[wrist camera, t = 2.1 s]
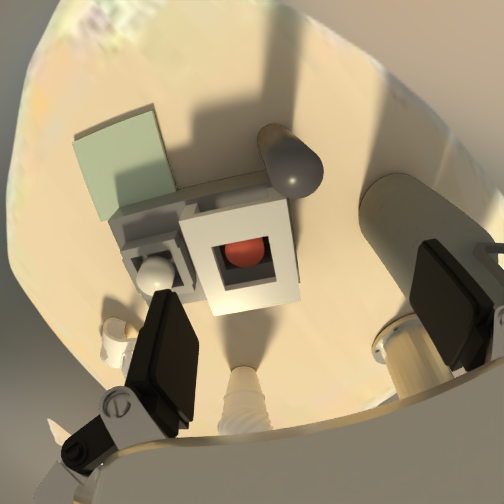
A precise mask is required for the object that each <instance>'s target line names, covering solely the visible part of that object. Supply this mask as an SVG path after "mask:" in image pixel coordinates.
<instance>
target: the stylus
mask: <svg viewBox="0 0 504 504" xmlns="http://www.w3.org/2000/svg"><path fill="white" fill-rule="evenodd" d="M257 142H258V146H259V149H260V152H261V155H262V158H263V161H264V163H265V166H266V169H267V172H268V175H269V178H270V181H271V184H272V186H273V187H274V189H275V190H276V191H277V192H278V193H280V194H281V195H283V196H285V197H288V198H293V199H298V198H304V197H306V196H309V195H310V194H312V193H313V192H314V191H316V189H317V188H318V187H319V186H320V184H321V182H322V179H323V173H324V170H323V165H322V162H321V160H320V158H319V157H318V155H317V154H316V153H315V152H313V151H312V150H311V149H310V148H309V147H308V146H307V145H305V144H304V143H303V142H302V141H301V140H300V139H298V138H297V137H296V136H295V135H294V134H292V133H291V132H290V131H289V130H288V129H286V128H285V127H284V126H282V125H280V124H269V125H266V126H265V127H263V128H262V129H261V130H260V132H259V134H258V137H257Z"/></svg>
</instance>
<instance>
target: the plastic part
mask: <svg viewBox="0 0 504 504" xmlns="http://www.w3.org/2000/svg"><path fill="white" fill-rule="evenodd" d="M125 325H126V322H125V321H123V320H120V319H117V318H115V317H113V318H109V319H107V320H106V321H105V323H104V325H103V333H102V347H101V353H100V356H101V359H102V361H103V362H104V363H105V364H106V365H108V366H110V367H113V368H121V369H122V372H123V375H124V377H125V380H126V377H127V374H128V370H129V366H130V362H131V359H132V353H131V351H134V348H135V344H136V341H137V338H128V339H127V337H126V335H125V333H124V330H125Z"/></svg>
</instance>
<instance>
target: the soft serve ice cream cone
mask: <svg viewBox="0 0 504 504" xmlns="http://www.w3.org/2000/svg"><path fill="white" fill-rule="evenodd" d="M270 422H271V421H270V420H269V419H268V413H267V411H266V405H265V396H264V394H263V393H262V390H261V387H260V384H259V380H258V377H257V374H256V371H255V370H254V369H253V368H251V367H246V366H241V367H237V368H235V369H233V370H232V372H231V375H230V379H229V383H228V387H227V391H226V394H225V396H224V408H223V413H222V418H221V419H220V421H219V423H218V433H219V435H220V436H221V435H233V434H243V433H253V432H262V431H270V430H273V427H272V426H271V425H270Z"/></svg>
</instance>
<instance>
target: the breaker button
mask: <svg viewBox="0 0 504 504" xmlns="http://www.w3.org/2000/svg"><path fill="white" fill-rule="evenodd" d="M225 254H226V257H227V259H228V260H229V261H230V262H231V263H232V264H234V265H236V266H239V267H250V266H253V265H255V264H257V263H258V262H259V261H260V260H261V259H262V257H263V255H264V243H263V237H259V238H254V239H249V240H244V241H239V242H234V243H229V244H225Z"/></svg>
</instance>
